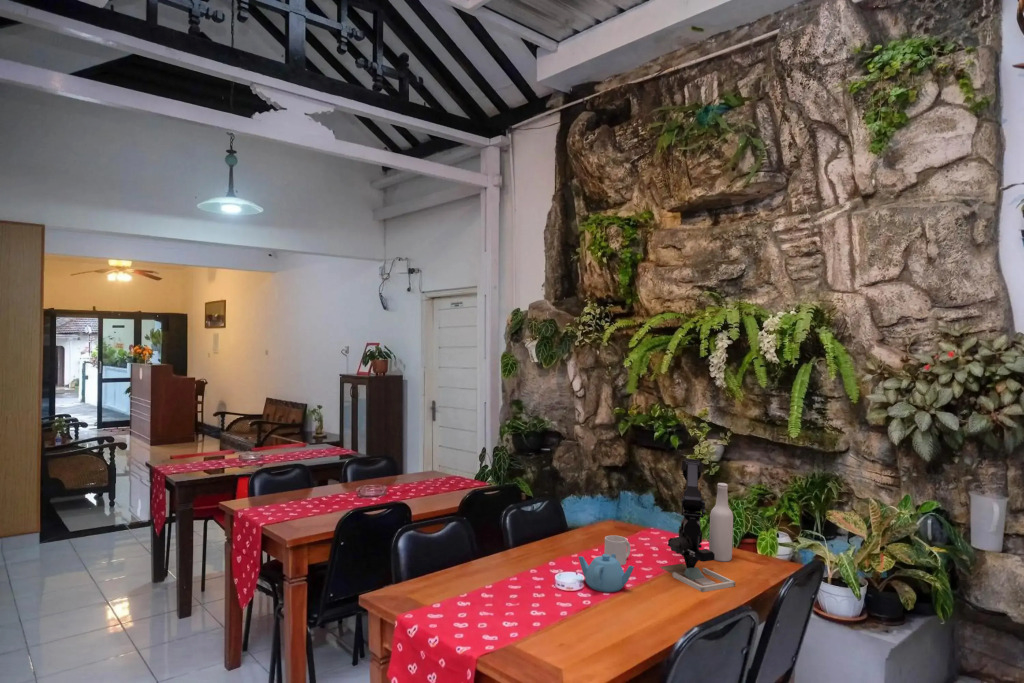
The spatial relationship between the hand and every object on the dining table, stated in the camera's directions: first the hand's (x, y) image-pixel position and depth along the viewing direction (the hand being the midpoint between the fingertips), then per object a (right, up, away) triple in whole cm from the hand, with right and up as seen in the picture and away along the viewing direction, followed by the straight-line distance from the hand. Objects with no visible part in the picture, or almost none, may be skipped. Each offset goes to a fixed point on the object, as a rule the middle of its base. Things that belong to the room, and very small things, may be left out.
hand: (689, 572), depth 226 cm
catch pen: (+3, -2, -6) cm, 7 cm away
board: (-2, -2, +4) cm, 5 cm away
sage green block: (+1, -1, -2) cm, 3 cm away
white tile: (+3, -3, -8) cm, 9 cm away
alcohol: (+19, -4, +24) cm, 31 cm away
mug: (-24, -2, +12) cm, 27 cm away
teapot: (-32, -1, -10) cm, 34 cm away
